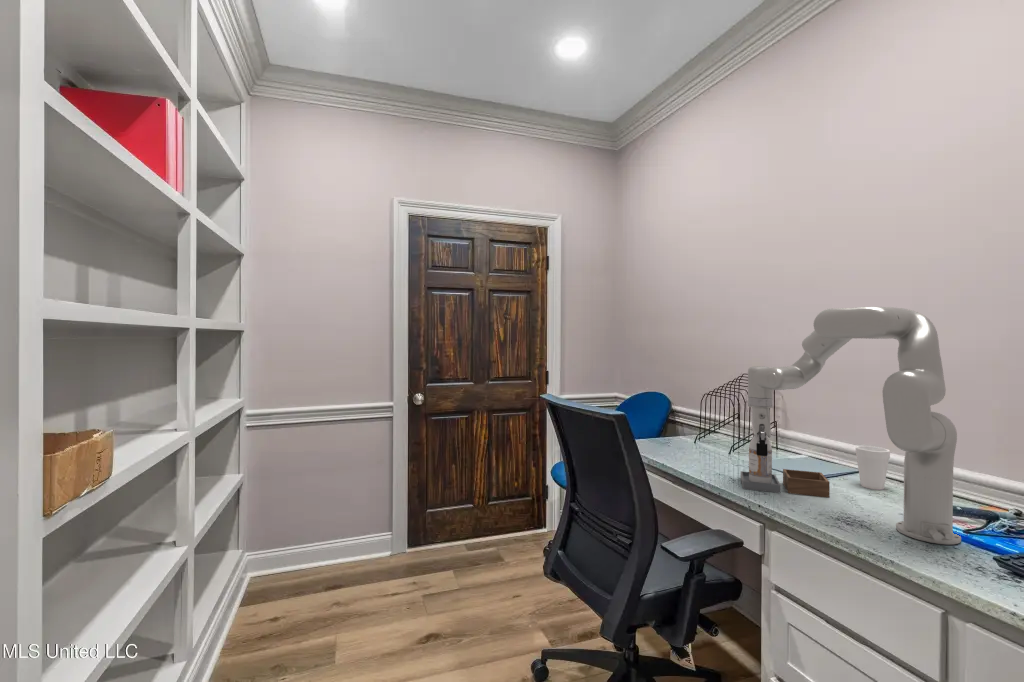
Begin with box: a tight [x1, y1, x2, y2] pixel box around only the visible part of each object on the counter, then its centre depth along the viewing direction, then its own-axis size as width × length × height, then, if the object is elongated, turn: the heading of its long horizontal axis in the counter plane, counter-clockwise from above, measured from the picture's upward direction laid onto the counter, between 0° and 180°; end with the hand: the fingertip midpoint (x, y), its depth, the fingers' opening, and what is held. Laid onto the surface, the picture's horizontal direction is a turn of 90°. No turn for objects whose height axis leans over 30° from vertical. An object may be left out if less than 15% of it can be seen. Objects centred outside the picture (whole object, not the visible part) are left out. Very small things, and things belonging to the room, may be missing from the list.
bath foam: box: [748, 426, 773, 484], centre depth 163 cm, size 7×7×20 cm
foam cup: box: [855, 445, 891, 491], centre depth 162 cm, size 10×9×13 cm
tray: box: [740, 470, 782, 494], centre depth 163 cm, size 13×11×3 cm
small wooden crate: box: [782, 468, 831, 498], centre depth 158 cm, size 11×11×5 cm
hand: (760, 452), depth 163 cm, fingers open, 9 cm apart
